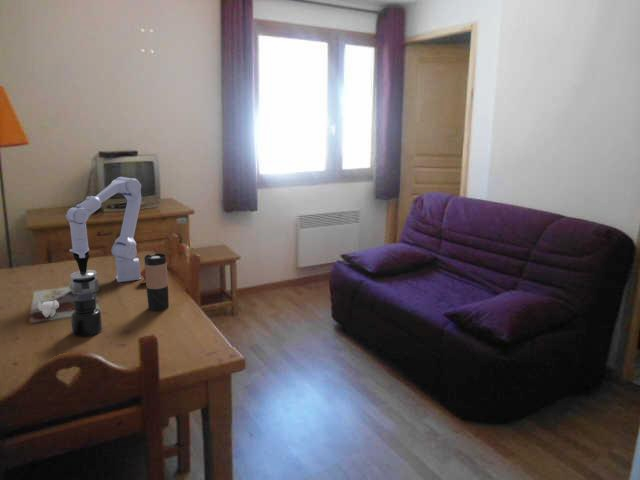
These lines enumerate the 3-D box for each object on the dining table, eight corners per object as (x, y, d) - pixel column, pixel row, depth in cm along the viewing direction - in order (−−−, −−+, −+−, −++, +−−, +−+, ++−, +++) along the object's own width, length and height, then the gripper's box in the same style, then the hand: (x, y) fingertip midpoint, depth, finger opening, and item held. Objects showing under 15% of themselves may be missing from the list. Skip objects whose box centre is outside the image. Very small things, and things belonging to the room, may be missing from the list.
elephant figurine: (36, 321, 174) (34, 305, 172) (42, 312, 181) (40, 297, 180) (57, 319, 175) (55, 303, 174) (62, 311, 183) (60, 295, 181)
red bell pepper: (143, 291, 210) (162, 276, 210) (131, 278, 209) (150, 263, 209) (147, 287, 217) (165, 273, 217) (136, 274, 216) (154, 260, 216)
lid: (97, 272, 208) (95, 260, 206) (96, 279, 199) (95, 267, 198) (71, 275, 204) (69, 263, 203) (70, 282, 196) (68, 270, 194)
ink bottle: (95, 323, 173) (92, 290, 170) (108, 330, 167) (105, 296, 164) (66, 332, 165) (62, 298, 162) (79, 340, 160) (75, 305, 157)
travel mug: (163, 312, 183) (159, 259, 178) (144, 310, 184) (139, 258, 179) (173, 304, 190) (169, 254, 185) (154, 303, 192) (151, 252, 187)
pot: (96, 280, 216) (94, 269, 214) (100, 295, 199) (99, 283, 197) (70, 284, 211) (68, 272, 210) (72, 299, 194) (71, 287, 193)
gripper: (67, 235, 202) (71, 267, 205) (69, 243, 190) (72, 277, 193) (86, 233, 205) (89, 265, 209) (89, 241, 193) (92, 274, 196)
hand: (83, 270), depth 201 cm, fingers closed on lid, 2 cm apart
